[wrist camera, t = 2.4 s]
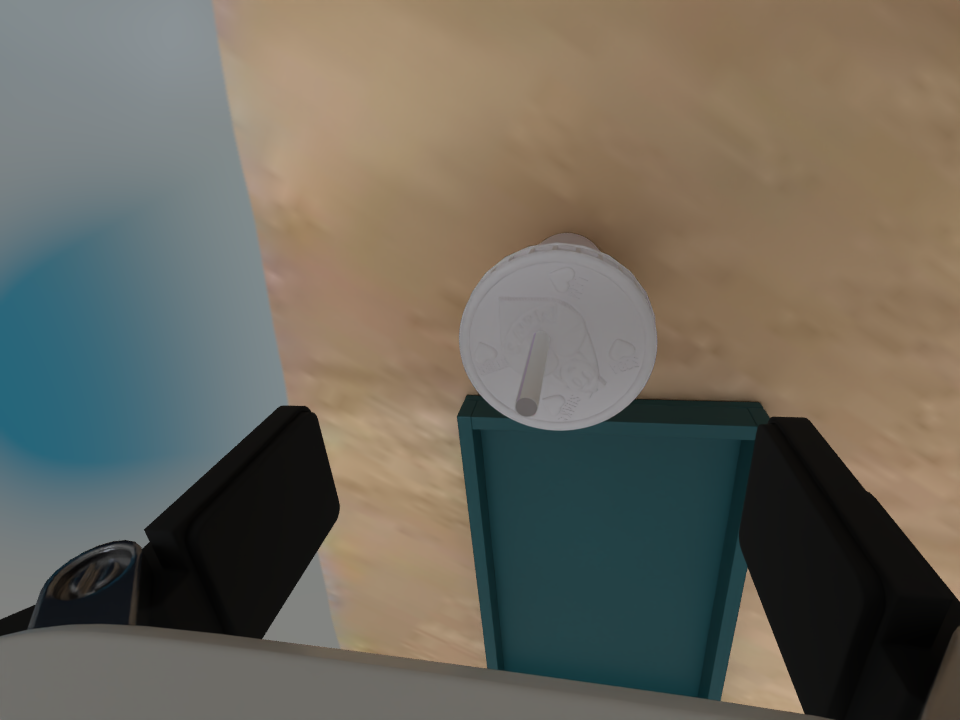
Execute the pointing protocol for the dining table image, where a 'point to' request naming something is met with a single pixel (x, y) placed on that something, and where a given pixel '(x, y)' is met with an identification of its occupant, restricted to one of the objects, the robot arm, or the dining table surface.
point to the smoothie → (558, 335)
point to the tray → (611, 542)
